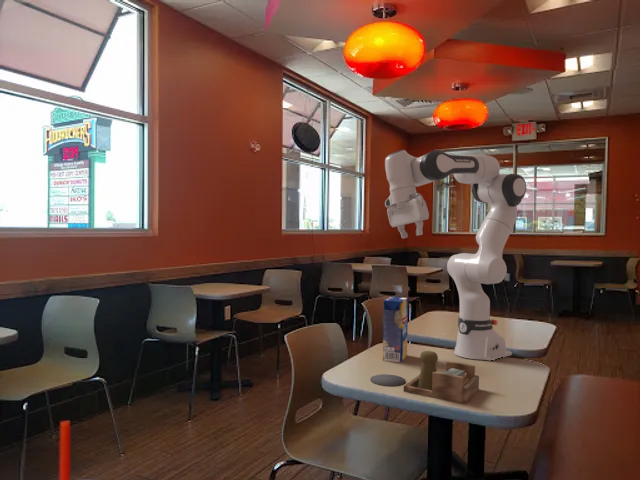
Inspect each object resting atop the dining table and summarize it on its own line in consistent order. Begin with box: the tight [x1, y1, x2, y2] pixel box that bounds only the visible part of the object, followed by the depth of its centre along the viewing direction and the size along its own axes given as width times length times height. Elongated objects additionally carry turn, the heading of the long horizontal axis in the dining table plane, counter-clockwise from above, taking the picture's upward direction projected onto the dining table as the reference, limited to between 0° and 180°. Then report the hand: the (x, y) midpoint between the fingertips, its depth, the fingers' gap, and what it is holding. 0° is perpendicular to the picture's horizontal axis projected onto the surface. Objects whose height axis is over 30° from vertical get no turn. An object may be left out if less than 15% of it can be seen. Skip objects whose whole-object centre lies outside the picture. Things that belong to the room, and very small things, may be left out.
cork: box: [417, 350, 439, 390], centre depth 147 cm, size 6×6×11 cm
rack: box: [403, 360, 480, 405], centre depth 145 cm, size 18×15×7 cm
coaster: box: [370, 373, 406, 387], centre depth 154 cm, size 11×11×1 cm
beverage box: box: [382, 296, 409, 363], centre depth 181 cm, size 7×11×22 cm, turn 159°
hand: (412, 236), depth 167 cm, fingers open, 8 cm apart
